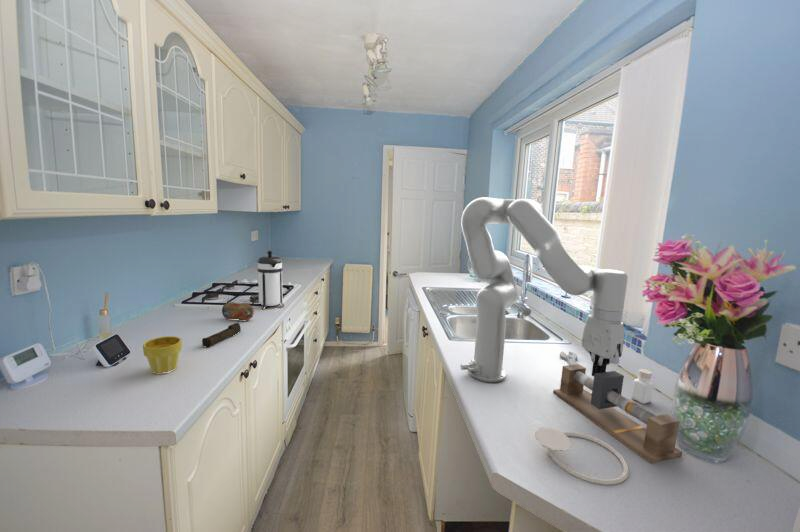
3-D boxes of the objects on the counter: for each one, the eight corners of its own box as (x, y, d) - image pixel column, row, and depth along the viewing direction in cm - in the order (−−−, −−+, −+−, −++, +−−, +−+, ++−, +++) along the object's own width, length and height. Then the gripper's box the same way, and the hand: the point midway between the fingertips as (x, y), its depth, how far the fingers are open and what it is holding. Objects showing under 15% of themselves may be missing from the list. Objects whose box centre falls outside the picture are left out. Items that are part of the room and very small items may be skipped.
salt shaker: (629, 398, 111) (634, 369, 109) (638, 395, 112) (643, 367, 111) (643, 404, 107) (647, 375, 106) (651, 402, 109) (656, 373, 107)
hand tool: (209, 348, 135) (209, 337, 135) (201, 347, 137) (201, 335, 136) (245, 332, 153) (245, 322, 152) (238, 331, 154) (237, 321, 154)
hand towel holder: (648, 472, 73) (546, 463, 75) (645, 490, 74) (544, 481, 76) (608, 422, 90) (524, 415, 92) (605, 438, 91) (523, 431, 92)
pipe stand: (650, 463, 82) (656, 427, 80) (553, 392, 112) (556, 365, 111) (681, 455, 85) (688, 421, 83) (578, 389, 115) (582, 362, 114)
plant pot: (178, 375, 114) (176, 346, 112) (139, 379, 111) (137, 349, 109) (186, 361, 123) (185, 334, 122) (152, 364, 120) (149, 337, 119)
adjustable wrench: (585, 385, 119) (586, 380, 118) (564, 382, 121) (565, 377, 120) (576, 356, 142) (576, 352, 142) (558, 353, 144) (559, 349, 144)
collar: (599, 409, 97) (603, 378, 96) (590, 403, 100) (594, 373, 98) (619, 406, 99) (623, 375, 98) (610, 400, 102) (614, 370, 101)
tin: (221, 319, 168) (221, 302, 167) (226, 317, 172) (225, 300, 170) (251, 322, 166) (250, 304, 165) (255, 320, 169) (254, 303, 168)
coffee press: (292, 303, 199) (291, 250, 194) (274, 311, 184) (273, 253, 179) (265, 300, 204) (264, 247, 199) (246, 307, 189) (244, 251, 184)
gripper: (574, 307, 105) (568, 366, 108) (619, 323, 91) (610, 391, 94) (595, 306, 107) (587, 364, 110) (641, 322, 93) (632, 387, 96)
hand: (598, 376), depth 102 cm, fingers closed
